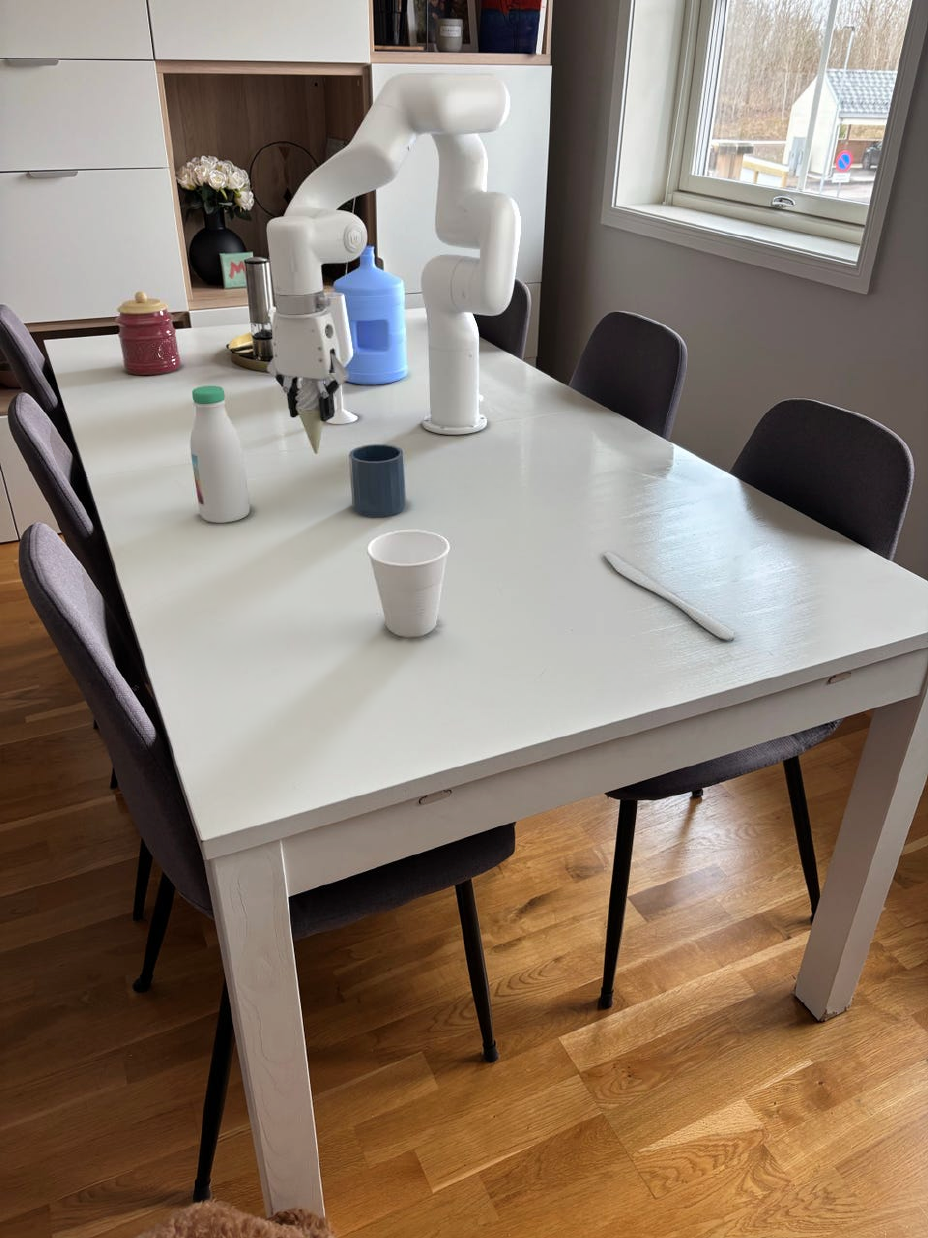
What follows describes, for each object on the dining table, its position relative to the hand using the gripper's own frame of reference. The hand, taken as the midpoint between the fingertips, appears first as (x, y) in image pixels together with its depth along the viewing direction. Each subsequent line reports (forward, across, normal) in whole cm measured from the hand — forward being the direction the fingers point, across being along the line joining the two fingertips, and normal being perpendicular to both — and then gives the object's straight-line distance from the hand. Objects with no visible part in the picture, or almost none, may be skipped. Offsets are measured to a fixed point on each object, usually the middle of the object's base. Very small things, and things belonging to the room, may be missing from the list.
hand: (312, 415), depth 156 cm
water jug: (+13, +23, -61) cm, 67 cm away
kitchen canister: (+12, +75, -47) cm, 90 cm away
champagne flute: (+12, +14, -31) cm, 36 cm away
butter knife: (+12, -63, +18) cm, 67 cm away
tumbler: (+11, -15, +6) cm, 20 cm away
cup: (+11, -37, +38) cm, 54 cm away
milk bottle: (+11, +6, +18) cm, 22 cm away
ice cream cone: (+7, 0, 0) cm, 7 cm away
